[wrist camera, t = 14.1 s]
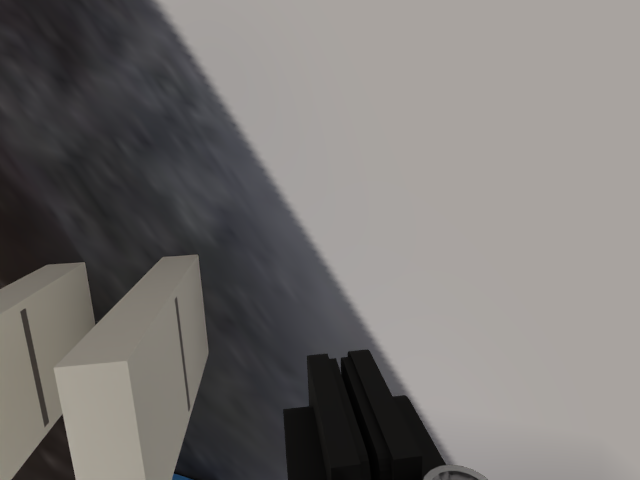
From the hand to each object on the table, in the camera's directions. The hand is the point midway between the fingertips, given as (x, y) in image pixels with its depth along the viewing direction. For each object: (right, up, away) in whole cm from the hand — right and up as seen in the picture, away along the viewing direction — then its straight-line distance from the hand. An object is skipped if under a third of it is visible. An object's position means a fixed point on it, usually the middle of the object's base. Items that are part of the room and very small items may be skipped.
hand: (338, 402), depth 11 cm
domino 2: (-7, +1, +9) cm, 11 cm away
